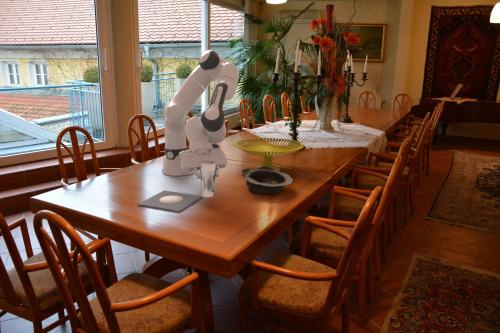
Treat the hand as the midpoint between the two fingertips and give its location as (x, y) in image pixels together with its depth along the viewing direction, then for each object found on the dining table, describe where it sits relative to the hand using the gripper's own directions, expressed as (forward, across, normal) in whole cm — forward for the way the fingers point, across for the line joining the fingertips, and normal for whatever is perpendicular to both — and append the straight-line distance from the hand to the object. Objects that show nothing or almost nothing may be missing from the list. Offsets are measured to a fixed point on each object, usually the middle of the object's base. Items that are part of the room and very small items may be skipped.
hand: (208, 177), depth 169 cm
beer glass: (+6, 0, +6) cm, 9 cm away
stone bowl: (+3, +33, +14) cm, 35 cm away
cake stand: (-20, +51, +36) cm, 65 cm away
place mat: (+2, -14, +15) cm, 20 cm away
